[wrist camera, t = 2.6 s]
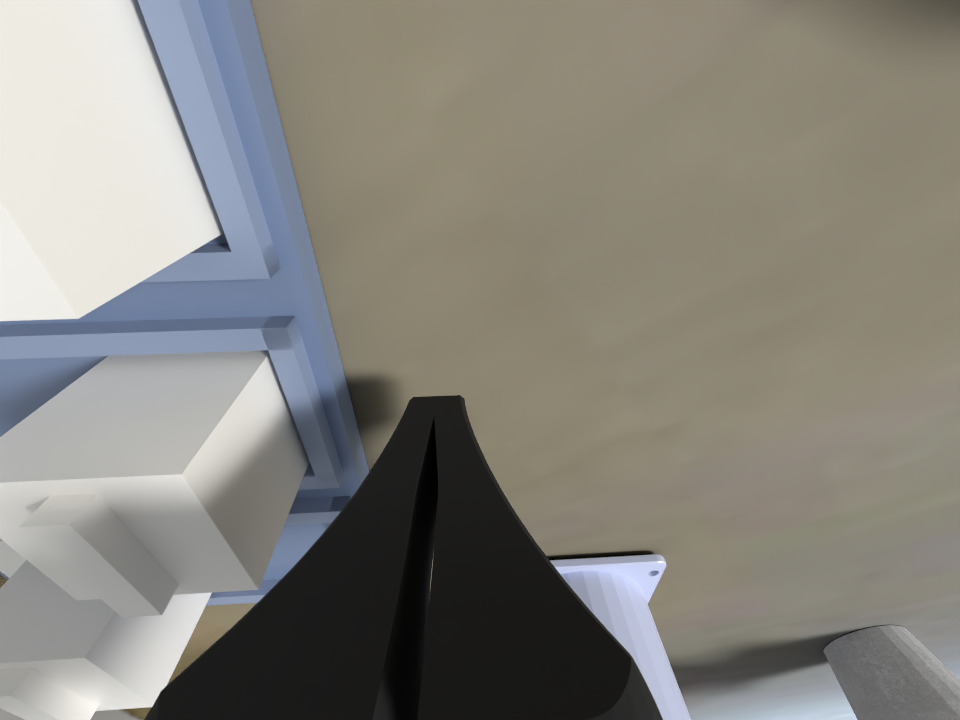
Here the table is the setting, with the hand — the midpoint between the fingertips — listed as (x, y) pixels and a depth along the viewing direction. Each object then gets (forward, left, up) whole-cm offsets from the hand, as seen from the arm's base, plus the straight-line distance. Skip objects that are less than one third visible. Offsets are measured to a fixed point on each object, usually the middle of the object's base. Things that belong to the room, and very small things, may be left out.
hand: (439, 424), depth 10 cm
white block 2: (-7, +12, -1) cm, 14 cm away
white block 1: (0, +6, -1) cm, 6 cm away
